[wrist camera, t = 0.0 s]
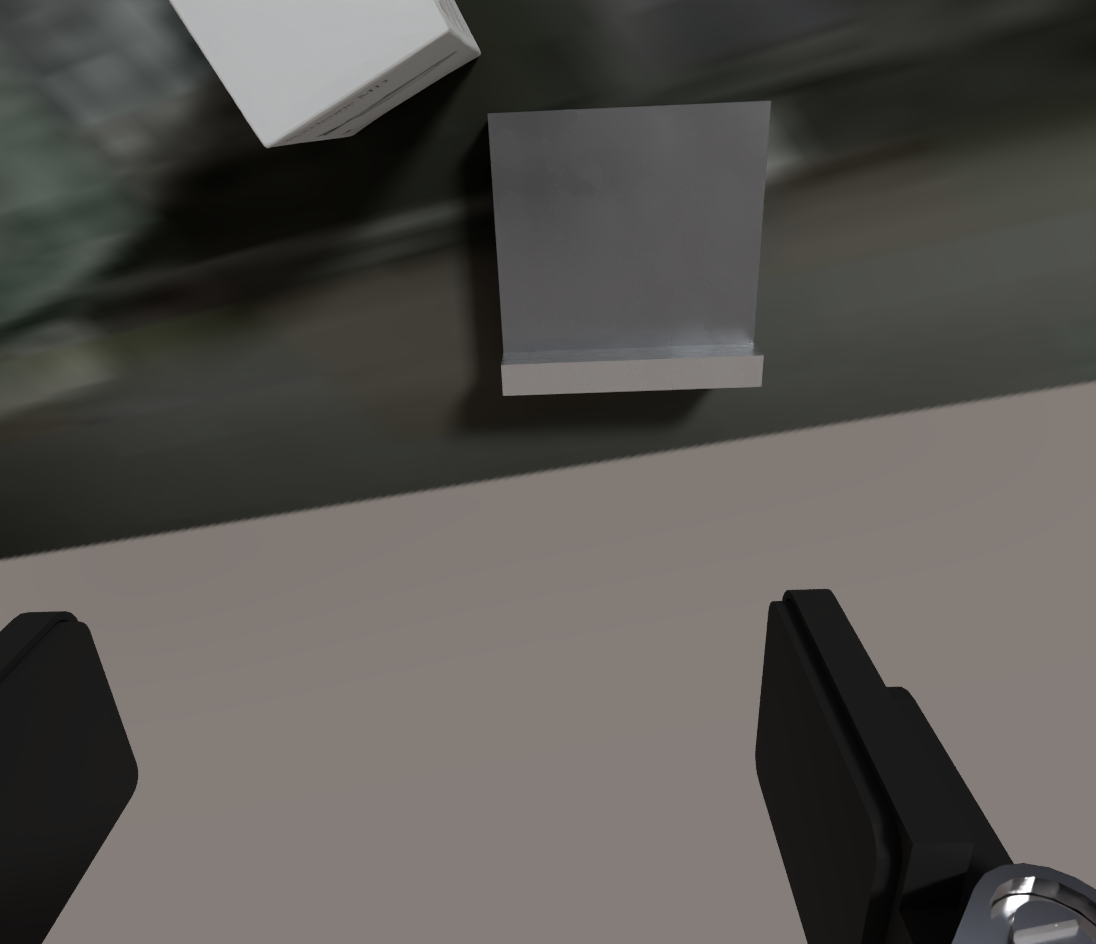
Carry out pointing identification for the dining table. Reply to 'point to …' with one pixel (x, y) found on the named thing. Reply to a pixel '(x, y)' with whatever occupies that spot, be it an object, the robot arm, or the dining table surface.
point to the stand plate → (629, 246)
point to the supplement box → (325, 59)
